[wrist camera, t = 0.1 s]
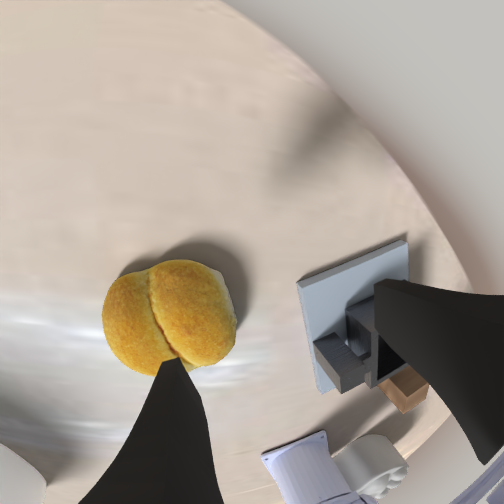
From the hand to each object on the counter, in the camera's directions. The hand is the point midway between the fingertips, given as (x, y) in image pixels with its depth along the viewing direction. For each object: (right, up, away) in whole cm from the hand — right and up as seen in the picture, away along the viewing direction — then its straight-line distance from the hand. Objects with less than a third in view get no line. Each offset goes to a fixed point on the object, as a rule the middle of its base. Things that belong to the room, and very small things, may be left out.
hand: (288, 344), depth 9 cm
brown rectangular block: (+13, -9, +17) cm, 23 cm away
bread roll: (-7, -1, +10) cm, 12 cm away
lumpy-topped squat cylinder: (+15, -29, +25) cm, 41 cm away
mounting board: (+8, -3, +14) cm, 17 cm away
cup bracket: (+8, -3, +13) cm, 16 cm away
